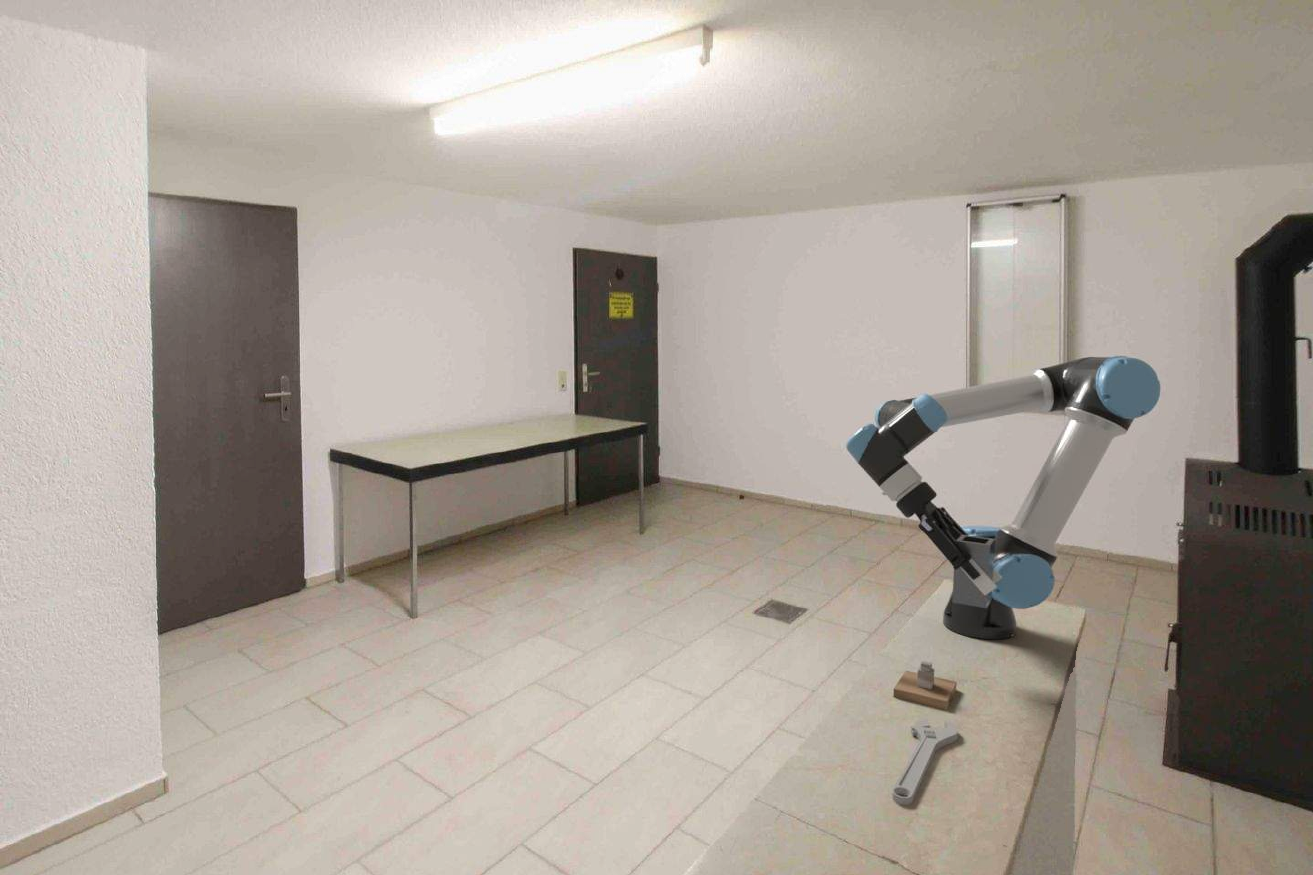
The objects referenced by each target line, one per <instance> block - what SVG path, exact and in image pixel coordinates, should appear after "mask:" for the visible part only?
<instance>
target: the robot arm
mask: <svg viewBox="0 0 1313 875" xmlns="http://www.w3.org/2000/svg"><path fill="white" fill-rule="evenodd" d="M1157 374H1158V373H1157V372H1156V371H1155V369H1154V368H1153V367H1152V366H1151V365H1149V363H1147V362H1146V361H1144V360H1142V359H1139V358H1137V357H1136V358H1135V357H1129V356H1125V355H1123V356H1122V355H1115V356H1107V357H1106V356H1104V357H1103V356H1101V357H1099V356H1086V357H1082V358H1078V359H1073V360H1070V361H1066V362H1062V363H1060V364H1056V365H1051V366H1048V367H1042V368H1038V369H1037V368H1036V369H1035V370H1033V371H1032V372H1031V374H1030V375H1026V376H1021V377H1016V378H1015V377H1014V378H1010V379H1009V378H1008V379H1005V380H999V381H995V382H989V383H984V384H979V385H974V386H969V387H963V388H957V389H953V390H947V391H942V392H937V393H932V394H928V393H922V394H921V395H919V396H917V397H913V398H906V399H902V400H901V399H900V400H896V399H891V400H887V401H883V402H882V403H881V404H880V405H879V406H878V407H877V409H876V411H875V414H874V421H875V424H873V423H868V424H866V425H864V426H863V427H862V428H860V429H858V430H857V431H856V432H855V433H854V434H852V435H851V437H850V438H849V439H848V440H847V442H846V447H845V448H846V450H847V452H848V453H849V454H850V455H851V457H852V458H854V460H855V461H856V463H857V464H858V465H859V466H860V467H861V468H862V470H864V472H865V473H866V474H867V475H868V477H870V479H871V480H872V481H873V482H874V483H875V484H876V486H878V487H879V488H880V489H881V494H882V495H883V496H887V497H888V499H889V500H890V501H891V502H896V504H895V507H896V508H897V509H898V510H899V511H900V512H901V514H902V515H903V516H904V517H905V518H907V519H909V518H912V517H913V516H914V515H916V517H917V518H918V521H919V522H920V523H919V524H918V525H917V526H918V528H919V529H920V531H922V532H923V533H924V534H925V535H926V536H927V537H928V539H930V541H932V543H933V544H934V546H936V548H937V549H938V550H939V551H940V552H941V553H942V555H943V556H944V557H945V559H946V560H947V561H948V562H949V563H950V564H951V566H953V567H952V568H953V570H954V569H955V570H957V569H958V568H959V567H960V568H961V569H962V571H963V572H964V573H965V574H966V575H967V576H968V577H969V578H970V580H971V581H972V582H973V583H974V584H975V585H976V586H977V587H978V589H979V590H980V591H981V592H982V593H983V594H984V595H986V594H988V593H989V592H991V591H992V599H991V601H990V603H989V605H988V607H987V608H981V607H976V606H970V605H964V604H959V603H953V602H952V598H953V590H952V591H951V594H950V596H949V597H948V598H949V599H948V601H947V603H946V606H945V608H944V611H943V614H942V618H943V619H942V623H943V625H944V627H945V628H947V629H948V630H950V631H952V632H954V633H957V634H959V635H963V636H967V637H970V638H976V639H984V640H1005V639H1009V638H1008V637H1010V638H1012V637H1013V636H1012V635H1014V634H1015V633H1017V626H1018V625H1017V624H1018V623H1017V620H1016V616H1015V612H1014V609H1018V610H1024V609H1029V608H1033V607H1036V606H1039V605H1040V604H1042V603H1043V602H1044V601H1046V600H1047V599H1048V597H1050V595H1051V593H1052V592H1053V590H1054V587H1055V582H1056V580H1055V576H1054V571H1053V566H1054V564H1055V562H1056V560H1057V559H1058V555H1059V554H1058V551H1057V549H1056V546H1055V544H1056V542H1057V541H1058V539H1059V537H1060V535H1061V533H1062V532H1063V530H1064V528H1065V526H1066V525H1067V523H1068V521H1069V519H1070V517H1071V515H1072V513H1073V512H1074V510H1075V508H1076V506H1077V504H1078V503H1079V501H1080V499H1081V498H1082V496H1083V493H1084V492H1085V490H1086V488H1087V486H1088V484H1089V482H1090V481H1091V479H1092V478H1093V476H1094V474H1095V472H1096V470H1097V469H1098V466H1099V464H1100V463H1101V461H1102V459H1103V457H1104V456H1105V454H1106V452H1107V450H1108V449H1109V447H1110V445H1111V443H1112V441H1113V439H1115V438H1117V437H1120V436H1123V435H1126V434H1127V432H1128V430H1129V429H1130V427H1131V425H1132V424H1133V422H1134V420H1135V419H1138V418H1141V417H1143V416H1145V415H1148V413H1150V412H1151V411H1153V409H1154V408H1155V407H1156V406H1157V404H1158V402H1159V400H1160V396H1161V382H1160V380H1159V378H1158V375H1157ZM1036 410H1038V411H1039V412H1041V413H1044V414H1045V413H1050V412H1051V413H1052V412H1059V411H1061V412H1062V411H1064V412H1065V414H1066V417H1067V421H1066V423H1065V426H1064V427H1063V429H1062V431H1061V432H1060V434H1059V436H1058V438H1057V440H1056V442H1055V444H1054V445H1053V447H1052V448H1051V451H1050V453H1049V454H1048V456H1047V458H1046V460H1045V462H1044V463H1043V465H1042V467H1041V469H1040V471H1039V473H1038V475H1037V476H1036V478H1035V480H1034V482H1033V483H1032V486H1031V488H1030V489H1029V491H1028V493H1027V495H1026V497H1025V499H1024V500H1023V502H1022V504H1021V506H1020V508H1019V510H1018V512H1017V513H1016V515H1015V517H1014V519H1013V521H1012V523H1011V524H1008V525H1005V526H1002V527H999V526H988V525H987V526H985V525H965V526H960V524H958V523H957V521H956V520H954V518H953V517H952V516H951V515H950V513H949V512H948V511H947V509H946V508H945V507H943V506H941V507H937V506H936V504H934V503H933V502H932V501H933V500H934V499H935V498H937V496H938V494H937V492H936V491H935V490H934V489H933V488H932V486H931V485H930V484H929V483H928V482H927V481H922V479H923V477H922V475H921V474H920V473H919V472H918V471H917V470H916V469H915V468H914V466H912V464H911V463H910V462H908V460H907V459H906V458H905V456H907V455H908V454H909V453H911V451H913V450H914V449H915V448H917V447H918V446H919V445H921V444H922V443H924V442H925V441H926V440H927V439H928V438H930V437H931V436H933V435H934V434H935V433H937V432H938V431H939V430H940V428H945V427H949V426H956V425H961V424H966V423H967V424H968V423H972V422H977V421H983V420H987V419H994V418H998V417H1004V416H1010V415H1015V414H1021V413H1025V412H1031V411H1036ZM961 535H968V536H976V537H984V538H991V539H995V550H994V566H993V581H992V580H991V579H990V578H989V577H988V576H987V574H986V573H985V572H984V571H983V570H982V569H981V568H980V567H979V566H978V564H977V563H976V562H975V561H974V560H973V559H969V557H968V556H967V555H966V553H965V552H964V551H963V549H962V548H961V547H960V546H959V544H958V543H957V542H956V540H957V539H958V538H959V537H960V536H961ZM953 580H954V576H953ZM1015 635H1016V634H1015ZM1015 635H1014V636H1015ZM1011 636H1012V637H1011Z"/></svg>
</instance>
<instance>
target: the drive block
mask: <svg viewBox="0 0 1313 875" xmlns="http://www.w3.org/2000/svg"><path fill="white" fill-rule="evenodd" d="M957 683H958V682H957V681H956V680H955V681H954V680H951V679H946V678H942V677H937V676H935V667H933V661H929V660H924V659H922V660H921V662H920V666H919V667H918V669H917V672H914V671H910V670H905V671H904V672H903V674H902V675H901V677H900V678H899V680H898V681H897V683H896V685H895V686H894V688H893V697H894V698H897V699H900V700H905V701H909V702H913V703H917V704H921V705H925V706H929V707H934V708H938V709H941V710H946V711H947V710H948V708H949V706H950V703H951V702H952V699H953V698H954V695H955V694H956V691H957Z"/></svg>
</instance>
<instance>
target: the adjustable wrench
mask: <svg viewBox="0 0 1313 875" xmlns="http://www.w3.org/2000/svg"><path fill="white" fill-rule="evenodd" d="M930 726H931V725H930V722H929V719H928V718H927V717H925V718H924V717H923V718H920V719H918V720H917V721H916V722H915V724H914V725H913V726H911V727H910V734H911V735H912V736H914V737H915V738H916V739H918V742H919V743H918V745H917V747H916V749H915V750H914V752H913V754H912V755H911V757H910V759H909V761H908V762H907V764H906V765H905V767H904V769H903V770H902V773H901V774H900V776H899V777H898V779H897V781H896V783H895V785H894V786H893V787H892V794H891V798H892V801H894V802H895V803H896V804H899V805H902V806H908V805H910V804H912V803H913V800H914V799H915V796H916V794H917V791H918V789H919V788H920V785H921V783H922V781H923V779H924V777H925V774H926V772H927V770H928V768H929V766H930V763H931V761H932V759H933V757H934V755H935V753H936V751H938V750H939V749H941V748H942V747H944V746H947V745H950V744H952V743H954V742H957V740H958V737H959V729H958V727H957V726H956V724H954V723H953V722H952V721H950V720H947V719H946V720H944V728H943V727H942V728H934V727H930Z"/></svg>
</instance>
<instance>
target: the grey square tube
mask: <svg viewBox="0 0 1313 875" xmlns="http://www.w3.org/2000/svg"><path fill="white" fill-rule="evenodd" d="M956 542H957V543H958V544H959V546H960V547H961V548H962V549H963V551H964V552H965V553H966V555H967V556H968V557H969V559H973V560H974V561H975V562H976V563H977V564H978V566H979V567H980V568H981V569H982V570H983V571H984V572H985V573H986V574H987V576H988V577H989V578H990V579H991V580H992V581H993V566H994V550H995V539H991V538H984V537H976V536H968V535H961V536H960V537H959V538H958V539H957V540H956ZM953 577H954V580H953V581H952V582H953V584H952V591H953V598H952V602H953V603H959V604H964V605H970V606H976V607H981V608H987V607H988V605H989V603H990V601H991V599H992V591H991V592H989V593H988V594H986V595H984V594H983V593H982V592H981V591H980V590H979V589H978V587H977V586H976V585H975V584H974V583H973V582H972V581H971V580H970V578H969V577H968V576H967V575H966V574H965V573H964V572H963V571H962V569H961V568H960V567H959V568H958V569H957V570H955V569H954V568H953Z"/></svg>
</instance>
